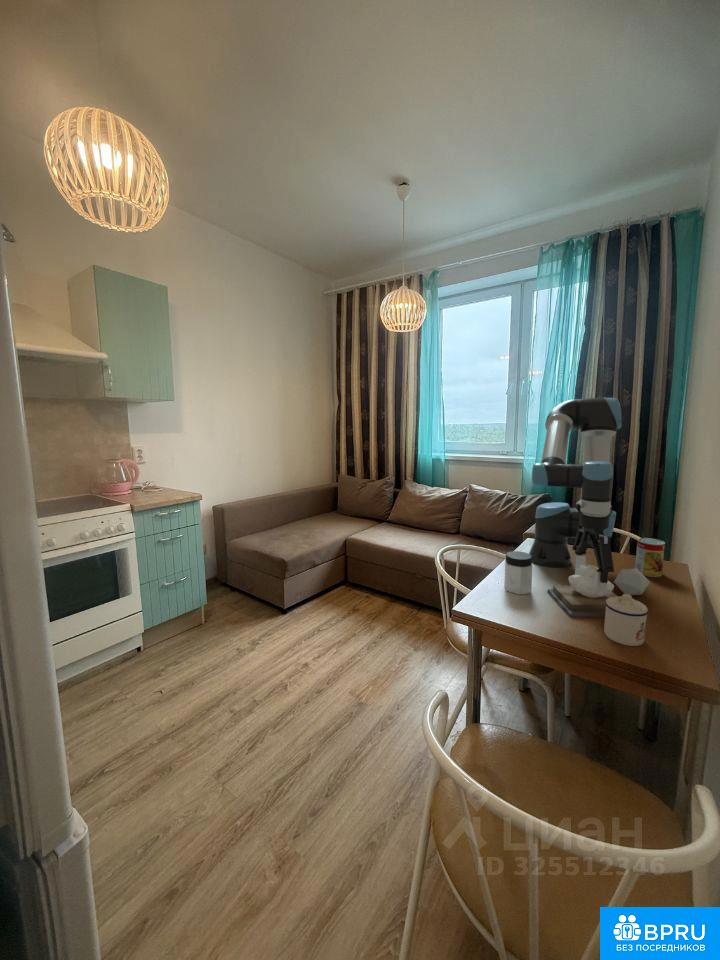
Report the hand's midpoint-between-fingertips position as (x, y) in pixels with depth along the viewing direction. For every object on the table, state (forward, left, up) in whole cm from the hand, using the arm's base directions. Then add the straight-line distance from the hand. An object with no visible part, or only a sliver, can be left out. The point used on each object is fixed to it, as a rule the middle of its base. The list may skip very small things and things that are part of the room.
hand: (589, 583), depth 117 cm
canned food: (-25, +33, -7) cm, 42 cm away
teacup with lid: (+17, +1, -7) cm, 18 cm away
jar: (-10, -18, -7) cm, 22 cm away
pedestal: (0, 0, -7) cm, 7 cm away
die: (-8, +17, -7) cm, 20 cm away
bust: (+1, 0, -4) cm, 4 cm away
